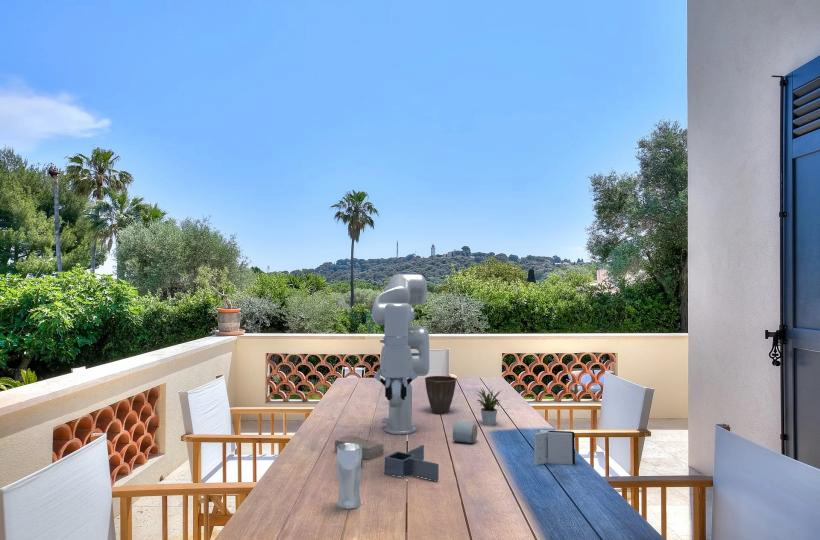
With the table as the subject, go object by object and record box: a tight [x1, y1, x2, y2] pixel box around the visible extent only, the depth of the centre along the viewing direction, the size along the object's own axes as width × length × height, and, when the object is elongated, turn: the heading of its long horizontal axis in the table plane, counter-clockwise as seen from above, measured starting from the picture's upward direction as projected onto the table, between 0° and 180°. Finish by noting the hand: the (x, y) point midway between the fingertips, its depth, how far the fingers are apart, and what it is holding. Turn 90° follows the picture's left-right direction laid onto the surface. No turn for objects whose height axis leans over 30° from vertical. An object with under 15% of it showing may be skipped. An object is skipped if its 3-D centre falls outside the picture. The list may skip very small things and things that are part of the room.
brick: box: [334, 434, 385, 461], centre depth 173 cm, size 17×8×5 cm, turn 55°
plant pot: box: [424, 375, 457, 415], centre depth 234 cm, size 15×15×16 cm
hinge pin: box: [388, 378, 402, 407], centre depth 158 cm, size 5×5×11 cm
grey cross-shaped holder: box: [384, 444, 440, 482], centre depth 155 cm, size 17×17×5 cm
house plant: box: [476, 387, 503, 426], centre depth 213 cm, size 14×14×16 cm
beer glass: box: [335, 443, 364, 510], centre depth 130 cm, size 7×7×15 cm
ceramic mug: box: [452, 419, 478, 444], centre depth 188 cm, size 11×8×8 cm
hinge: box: [533, 429, 576, 466], centre depth 164 cm, size 14×5×10 cm, turn 92°
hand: (395, 398), depth 158 cm, fingers closed on hinge pin, 4 cm apart
